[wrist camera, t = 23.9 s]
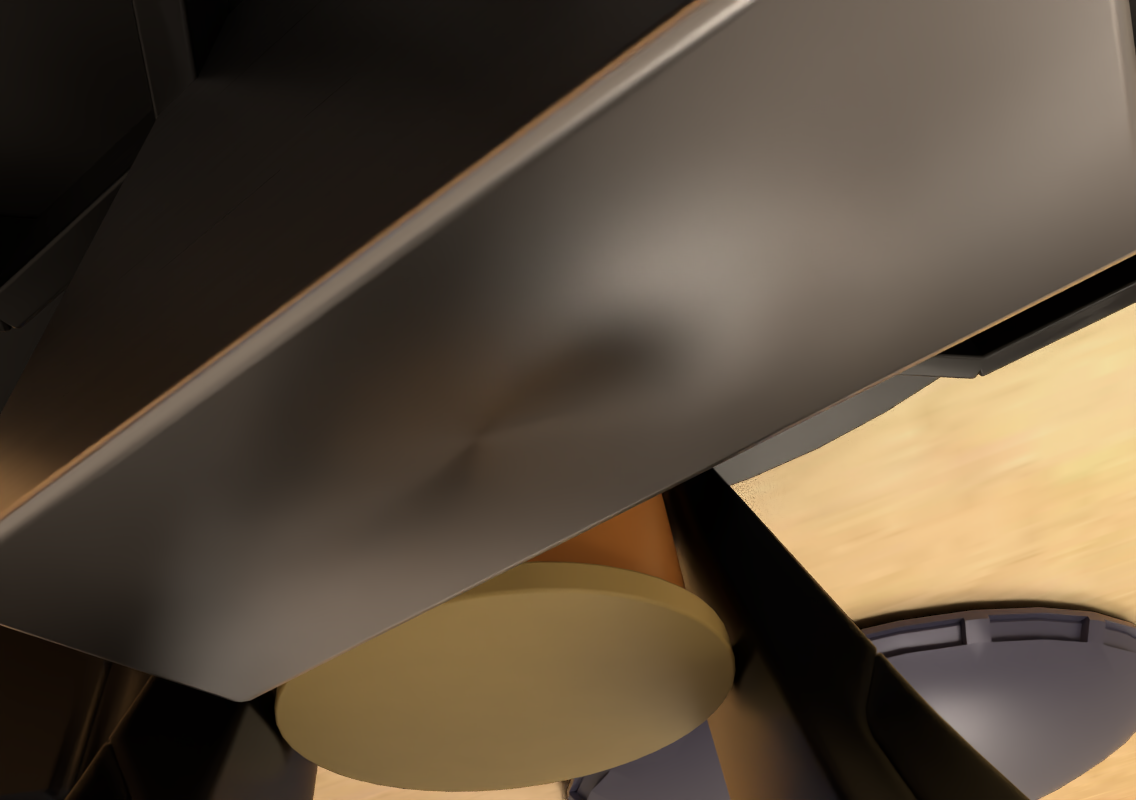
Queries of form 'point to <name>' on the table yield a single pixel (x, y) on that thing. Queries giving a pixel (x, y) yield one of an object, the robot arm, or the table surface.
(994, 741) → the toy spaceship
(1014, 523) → the table surface
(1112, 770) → the table surface
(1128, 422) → the table surface
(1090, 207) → the cup holder
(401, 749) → the coffee pod
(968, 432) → the table surface
